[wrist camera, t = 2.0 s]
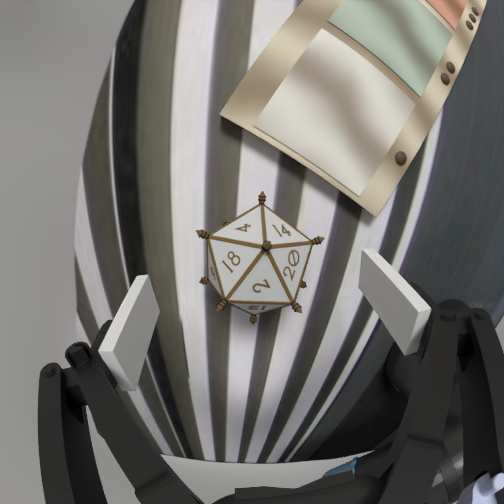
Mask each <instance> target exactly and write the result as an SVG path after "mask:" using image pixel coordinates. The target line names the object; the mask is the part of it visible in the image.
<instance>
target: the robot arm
mask: <svg viewBox="0 0 504 504" xmlns="http://www.w3.org/2000/svg"><path fill="white" fill-rule="evenodd" d="M359 289H360V290H361V291H362V293H363V294H364V296H365V297H366V298H367V300H368V301H369V303H370V304H371V306H372V307H373V308H374V310H375V311H376V313H377V314H378V316H379V317H380V319H381V320H382V322H383V323H384V325H385V326H386V328H387V329H388V331H389V332H390V334H391V335H392V337H393V338H394V340H395V341H396V343H395V344H394V346H393V347H392V349H391V351H390V353H389V355H388V358H387V361H386V374H387V376H388V378H389V380H390V382H391V384H392V385H393V387H394V388H395V389H396V390H397V391H399V392H400V393H401V394H402V395H404V396H405V397H406V398H407V399H408V400H409V401H408V404H407V407H406V410H405V412H404V415H403V418H402V421H401V424H400V426H399V429H398V431H397V434H396V436H395V439H394V441H393V442H391V443H390V444H388V445H385V446H383V447H381V448H379V449H377V450H375V451H373V452H371V453H368V454H366V455H364V456H362V457H359V458H358V457H355V458H354V459H353V460H352V461H350V462H347V463H345V464H343V465H340V466H338V467H336V468H333V469H331V470H329V471H327V472H326V473H325V474H324V475H323V477H322V478H321V479H318V480H316V481H314V482H311V483H309V484H306V485H304V486H302V487H300V488H295V489H290V488H277V487H266V486H262V487H250V488H235V494H232V495H228V496H226V497H223V498H221V499H219V500H217V501H216V502H214V503H213V504H452V503H454V502H456V501H457V500H458V502H457V504H504V353H503V350H502V347H501V344H500V341H499V339H498V336H497V333H496V331H495V328H494V325H493V323H492V320H491V318H490V316H489V314H488V313H487V312H486V311H485V310H483V309H481V308H473V309H471V308H470V307H469V306H468V305H467V304H466V303H464V302H463V301H460V300H449V301H445V302H442V303H440V304H438V305H437V304H436V303H435V302H434V301H433V300H432V299H431V298H430V297H429V296H428V295H427V294H426V293H425V292H424V291H423V290H422V289H421V287H420V286H418V285H416V284H415V283H413V282H409V283H407V282H406V281H405V280H404V279H403V278H402V277H401V276H400V275H399V274H398V272H397V271H396V270H395V269H394V268H393V267H392V266H391V265H390V264H389V263H388V262H387V261H386V260H385V259H384V258H382V257H381V256H380V255H379V254H378V253H377V252H376V251H375V250H374V249H373V248H368V249H362V256H361V267H360V278H359ZM159 312H160V311H159V308H158V304H157V301H156V298H155V295H154V292H153V289H152V286H151V282H150V279H149V276H148V275H141V276H137V277H136V279H135V281H134V282H133V284H132V286H131V288H130V290H129V291H128V293H127V295H126V297H125V299H124V301H123V303H122V304H121V306H120V308H119V310H118V312H117V314H116V316H115V318H114V320H108V321H107V322H106V323H104V324H103V325H102V327H101V329H100V331H99V334H97V336H96V339H95V340H94V342H93V344H92V346H91V348H90V347H89V345H88V344H87V343H85V342H77V343H74V344H72V345H71V346H70V347H69V348H68V349H67V350H66V352H65V358H66V359H67V361H68V362H69V364H70V365H71V367H70V368H66V369H62V368H61V367H60V365H58V363H49V364H47V365H46V366H44V367H43V369H42V370H41V372H40V378H39V393H38V394H39V395H38V442H39V443H38V444H39V458H40V468H41V477H42V483H43V489H44V496H45V501H46V504H108V503H107V500H106V497H105V494H104V491H103V487H102V484H101V481H100V477H99V473H98V469H97V465H96V461H95V457H94V452H93V447H92V442H91V438H90V432H89V426H88V420H87V414H86V406H85V405H88V407H89V409H90V411H91V413H92V416H93V418H94V420H95V422H96V424H97V426H98V428H99V430H100V432H101V434H102V436H103V437H104V439H105V441H106V443H107V445H108V446H109V448H110V450H111V452H112V454H113V455H114V457H115V459H116V460H117V462H118V464H119V465H120V467H121V468H122V470H123V472H124V473H125V475H126V476H127V478H128V479H129V481H130V482H131V484H132V485H133V487H134V488H135V495H136V497H137V498H138V500H139V501H140V503H141V504H204V503H203V502H202V501H201V500H200V499H199V498H198V497H197V496H196V495H195V494H194V493H193V492H192V491H191V490H190V489H189V488H188V487H187V486H186V485H185V484H184V482H183V481H182V480H181V479H180V478H179V477H178V476H177V474H176V473H175V472H174V471H173V470H172V469H171V467H170V466H169V465H168V464H167V463H166V461H165V460H164V459H163V458H162V457H161V455H160V454H159V453H158V451H157V450H156V449H155V447H154V446H153V445H152V443H151V442H150V441H149V439H148V438H147V437H146V435H145V434H144V433H143V431H142V430H141V428H140V427H139V425H138V424H137V423H136V421H135V420H134V418H133V417H132V415H131V414H130V412H129V410H128V409H127V407H126V406H125V404H124V403H123V401H122V399H121V398H120V396H119V394H118V393H117V391H116V390H115V389H116V386H117V384H118V385H119V387H120V388H121V390H122V391H136V388H137V384H138V381H139V377H140V374H141V370H142V367H143V363H144V360H145V356H146V353H147V350H148V347H149V343H150V340H151V337H152V334H153V331H154V328H155V324H156V321H157V318H158V315H159Z"/></svg>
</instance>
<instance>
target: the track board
mask: <svg viewBox="0 0 504 504" xmlns="http://www.w3.org/2000/svg"><path fill="white" fill-rule="evenodd" d="M486 2H487V0H303V2H302V3H301V4H300V5H299V6H298V7H297V9H296V10H295V11H294V12H293V13H292V15H291V16H290V17H289V18H288V19H287V21H286V22H285V23H284V24H283V25H282V27H281V28H280V29H279V31H278V32H277V33H276V34H275V36H274V37H273V38H272V39H271V41H270V42H269V43H268V45H267V46H266V47H265V49H264V50H263V51H262V53H261V54H260V55H259V57H258V58H257V60H256V61H255V62H254V64H253V65H252V67H251V68H250V69H249V71H248V72H247V74H246V75H245V77H244V78H243V79H242V81H241V82H240V84H239V85H238V87H237V88H236V90H235V91H234V93H233V94H232V96H231V97H230V99H229V100H228V102H227V103H226V105H225V107H224V108H223V110H222V111H221V113H220V116H222V117H224V118H226V119H228V120H229V121H231V122H233V123H235V124H237V125H238V126H240V127H242V128H244V129H246V130H247V131H249V132H251V133H252V134H254V135H256V136H258V137H259V138H261V139H263V140H264V141H266V142H268V143H269V144H271V145H272V146H274V147H276V148H277V149H279V150H281V151H282V152H284V153H285V154H287V155H288V156H290V157H292V158H293V159H295V160H296V161H298V162H299V163H301V164H302V165H304V166H305V167H307V168H308V169H310V170H311V171H313V172H314V173H316V174H317V175H319V176H320V177H322V178H323V179H324V180H326V181H327V182H329V183H330V184H332V185H333V186H334V187H336V188H337V189H339V190H340V191H341V192H343V193H344V194H345V195H347V196H348V197H349V198H351V199H352V200H353V201H355V202H356V203H357V204H359V205H360V206H361V207H363V208H364V209H365V210H367V211H368V212H369V213H371V214H372V215H374V216H375V217H376V216H377V215H378V213H379V212H380V210H381V209H382V207H383V206H384V204H385V203H386V201H387V200H388V198H389V197H390V195H391V194H392V192H393V191H394V189H395V187H396V186H397V184H398V183H399V181H400V179H401V178H402V176H403V175H404V173H405V171H406V170H407V168H408V166H409V165H410V163H411V161H412V160H413V158H414V156H415V155H416V153H417V151H418V150H419V148H420V146H421V144H422V143H423V141H424V139H425V137H426V136H427V134H428V132H429V130H430V128H431V127H432V125H433V123H434V121H435V119H436V117H437V115H438V114H439V112H440V110H441V108H442V106H443V104H444V102H445V100H446V98H447V96H448V94H449V92H450V90H451V88H452V86H453V84H454V82H455V80H456V77H457V75H458V73H459V71H460V69H461V67H462V64H463V62H464V60H465V57H466V55H467V53H468V50H469V48H470V46H471V43H472V41H473V38H474V36H475V33H476V30H477V28H478V25H479V22H480V19H481V17H482V14H483V11H484V8H485V5H486Z"/></svg>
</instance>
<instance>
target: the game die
mask: <svg viewBox="0 0 504 504" xmlns="http://www.w3.org/2000/svg"><path fill="white" fill-rule="evenodd" d="M258 197H259V199H258V200H259V204H258V205H257V206H255V207H253V208H252V209H250V210H248V211H247V212H245V213H243V214H242V215H240V216H238V217H237V218H235V219H233V220H232V221H230V222H223V226H222V227H220V228H219V229H217V230H215V231H214V232H212V233H210V234H207V232H206V231H205V232H204V230H196V232H197V234H198V236H199V237H201V238H202V239H203V238H205V239H207V268H208V277H204V278H201V280H200V282H199V283H202V284H203V285H204V284H205V283H206V284H207V283H208V282H210V283H211V284H212V286H213V287H214V288H215V290H216V291H217V292H218V294H219V295H220V296H221V298H222V299H223V300H222V301H219V303H218V304H216V305H217V311H220V310H224V308H226V304H227V303H228V304H230V305H232V306H234V307H236V308H238V309H241V310H243V311H245V312H247V313H249V314H251V317H250V322H251V323H252V325H253V324H254V323H255V322H256V321H257V320H256V319H257V317H256V314H260V313H264V312H267V311H271V310H275V309H278V308H282V307H285V306H289V305H291V306H292V309H294V312H299V313H302V310H301V306H299V304H298V303H296V302H295V301H296V298H297V295H298V292H299V288H300V287H301V288H305V287H307V286H306V282H303V281H302V279H303V276H304V273H305V269H306V266H307V263H308V260H309V256H310V253H311V250H312V246H313V245H314V244H317V245H318V244H321V242H322V241H323V240H324V238H323V237H319V236H318V237H316V238H314V239H313V240H310V239H309V238H308V237H307V236H305V235H304V234H303V233H301V232H300V231H299V230H297V229H296V228H295V227H294V226H292V225H291V224H290V223H288V222H287V221H286V220H284V219H283V218H282V217H280V216H279V215H278V214H276V213H275V212H274V211H272V210H271V209H270V208H268V207H267V206H266V205H264V202H265V201H266V200H265V198H266V196H265V194H264V192H263V191H262V192H261V194H260V195H259V196H258Z"/></svg>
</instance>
